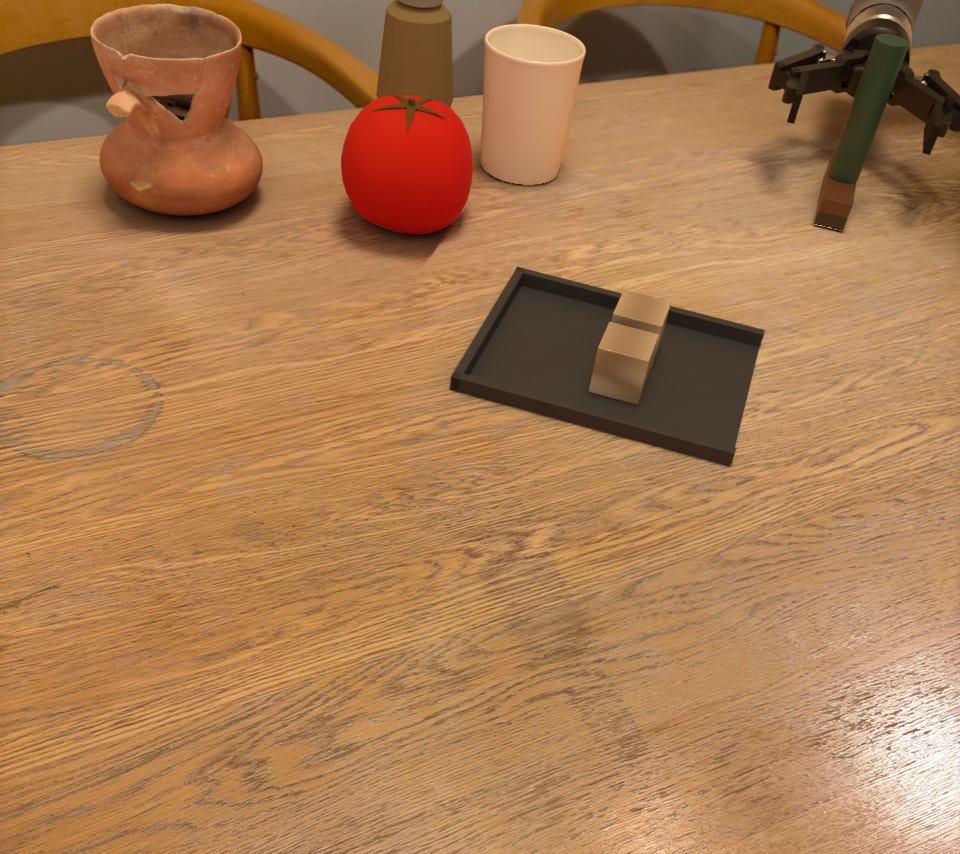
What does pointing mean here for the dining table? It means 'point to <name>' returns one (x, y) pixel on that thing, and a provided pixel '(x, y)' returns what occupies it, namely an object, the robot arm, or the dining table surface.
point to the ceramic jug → (174, 109)
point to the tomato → (407, 164)
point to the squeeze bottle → (417, 51)
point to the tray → (571, 356)
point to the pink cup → (528, 101)
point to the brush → (859, 130)
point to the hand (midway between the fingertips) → (862, 124)
